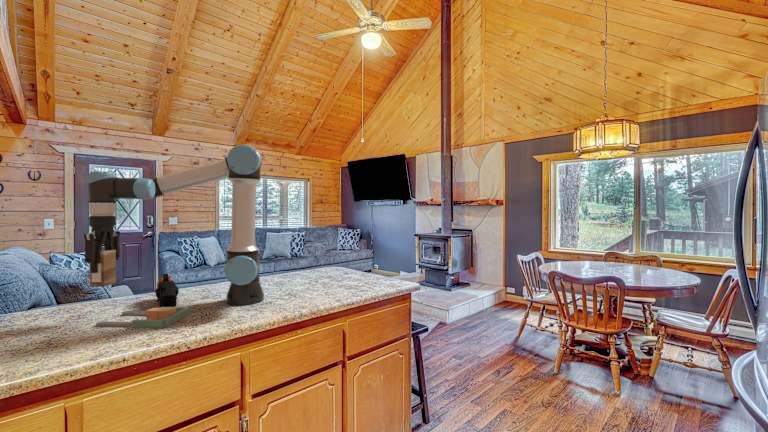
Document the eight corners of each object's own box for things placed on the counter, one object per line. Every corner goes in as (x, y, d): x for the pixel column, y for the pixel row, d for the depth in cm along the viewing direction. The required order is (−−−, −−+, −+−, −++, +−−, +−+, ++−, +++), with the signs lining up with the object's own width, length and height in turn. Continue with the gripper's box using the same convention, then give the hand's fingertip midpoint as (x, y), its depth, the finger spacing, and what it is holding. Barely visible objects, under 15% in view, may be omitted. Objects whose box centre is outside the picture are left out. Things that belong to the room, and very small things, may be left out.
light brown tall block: (116, 282, 129) (116, 249, 129) (104, 286, 123) (103, 251, 123) (102, 282, 129) (101, 249, 129) (89, 286, 123) (88, 251, 123)
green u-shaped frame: (190, 313, 135) (190, 306, 135) (165, 327, 119) (165, 320, 119) (161, 313, 135) (161, 306, 135) (132, 327, 119) (132, 320, 119)
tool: (156, 328, 139) (155, 296, 133) (155, 294, 156) (154, 265, 151) (180, 324, 143) (180, 293, 138) (176, 292, 160) (176, 263, 155)
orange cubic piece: (164, 318, 129) (164, 307, 129) (157, 322, 125) (157, 310, 125) (153, 318, 129) (153, 307, 129) (146, 322, 125) (146, 310, 125)
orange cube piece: (176, 318, 129) (175, 307, 129) (169, 322, 125) (169, 311, 125) (165, 318, 129) (164, 307, 129) (158, 322, 125) (158, 311, 125)
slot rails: (157, 313, 134) (157, 311, 134) (131, 326, 120) (131, 323, 120) (125, 313, 134) (125, 311, 134) (95, 326, 120) (95, 323, 120)
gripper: (111, 214, 135) (112, 274, 135) (68, 216, 116) (70, 285, 117) (131, 214, 135) (132, 274, 135) (91, 216, 116) (93, 286, 117)
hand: (103, 279), depth 126 cm, fingers closed on light brown tall block, 5 cm apart
